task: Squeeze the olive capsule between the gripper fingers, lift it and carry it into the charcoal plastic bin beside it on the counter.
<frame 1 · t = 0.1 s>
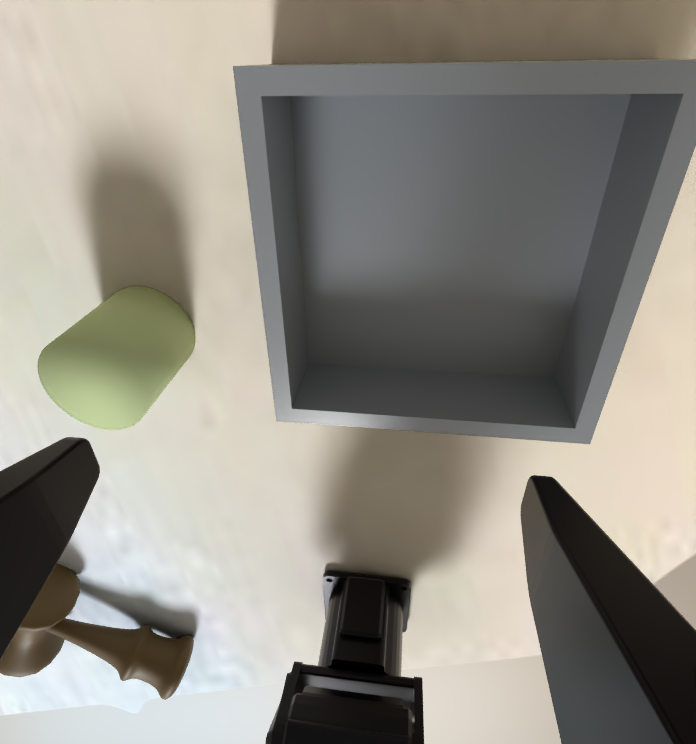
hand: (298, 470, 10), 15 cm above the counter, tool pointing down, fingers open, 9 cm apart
charcoal bin: (438, 247, 21), on the counter
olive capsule: (150, 328, 26), on the counter
kendama: (95, 599, 44), on the counter
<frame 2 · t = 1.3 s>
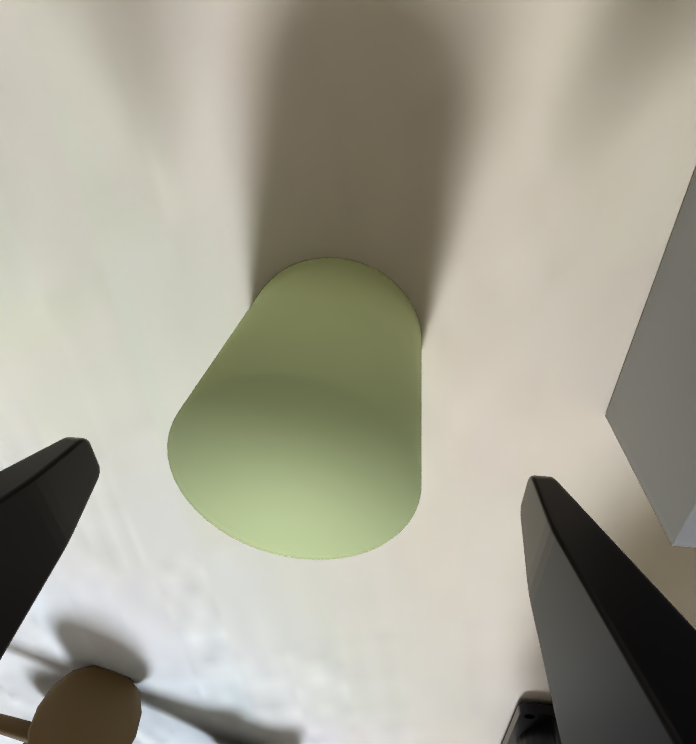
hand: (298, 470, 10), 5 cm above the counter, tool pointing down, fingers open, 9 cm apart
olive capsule: (334, 340, 14), on the counter
kendama: (156, 708, 32), on the counter
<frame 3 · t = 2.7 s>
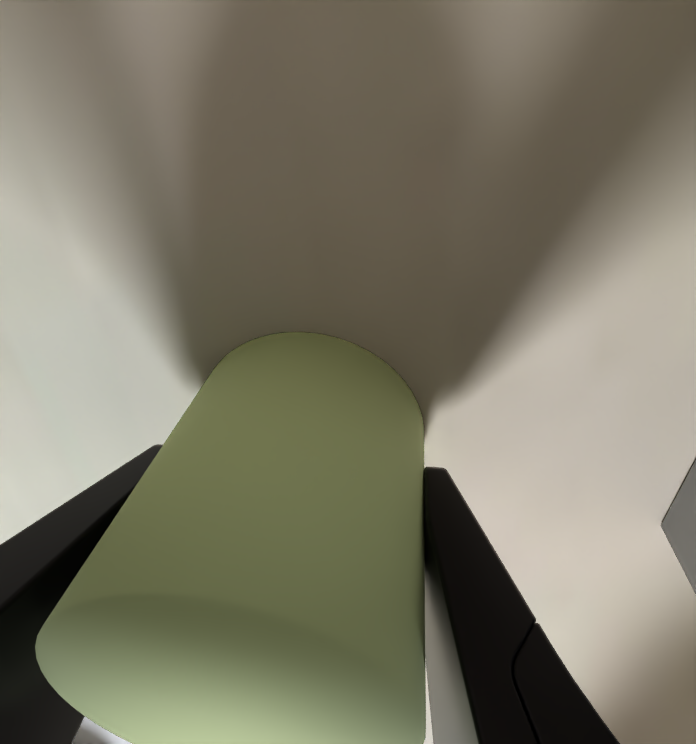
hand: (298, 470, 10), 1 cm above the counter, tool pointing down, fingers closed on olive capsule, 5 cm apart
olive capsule: (310, 430, 11), on the counter, touching gripper
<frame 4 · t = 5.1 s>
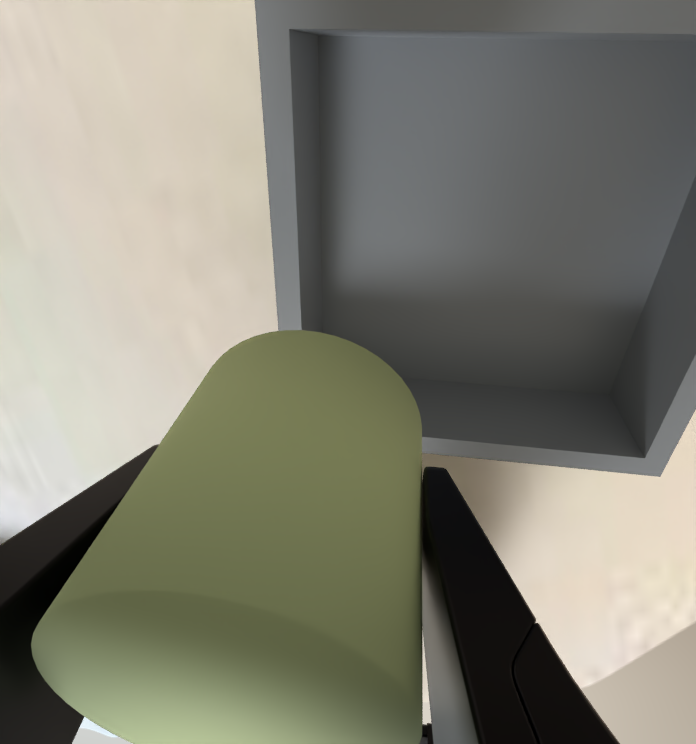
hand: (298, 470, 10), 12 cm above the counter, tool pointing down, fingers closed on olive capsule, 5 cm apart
charcoal bin: (485, 238, 18), on the counter
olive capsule: (308, 429, 11), point 10 cm above the counter, touching gripper
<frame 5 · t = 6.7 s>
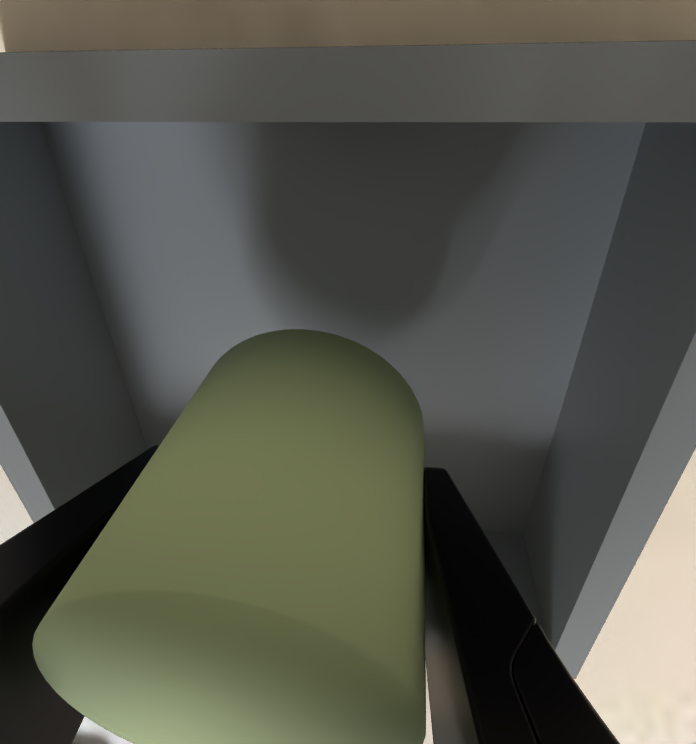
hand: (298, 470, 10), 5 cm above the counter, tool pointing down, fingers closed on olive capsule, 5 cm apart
charcoal bin: (333, 352, 13), on the counter
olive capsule: (310, 428, 11), point 3 cm above the counter, touching gripper
when the fingers open (3 cm above the counter, at t = 7.7 s): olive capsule drops 2 cm, resting on charcoal bin.
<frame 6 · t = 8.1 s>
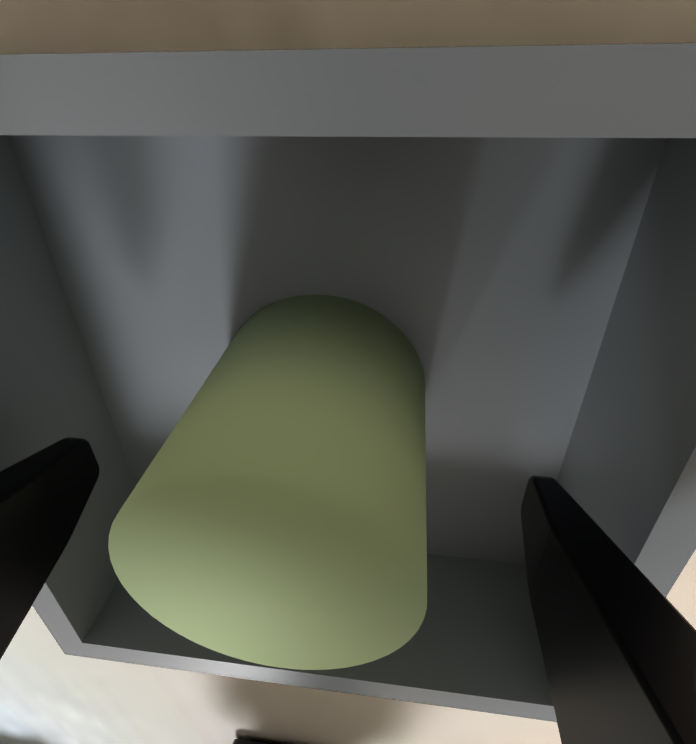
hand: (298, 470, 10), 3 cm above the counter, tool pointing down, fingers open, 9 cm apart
charcoal bin: (327, 374, 13), on the counter
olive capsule: (324, 386, 12), point 1 cm above the counter, touching charcoal bin
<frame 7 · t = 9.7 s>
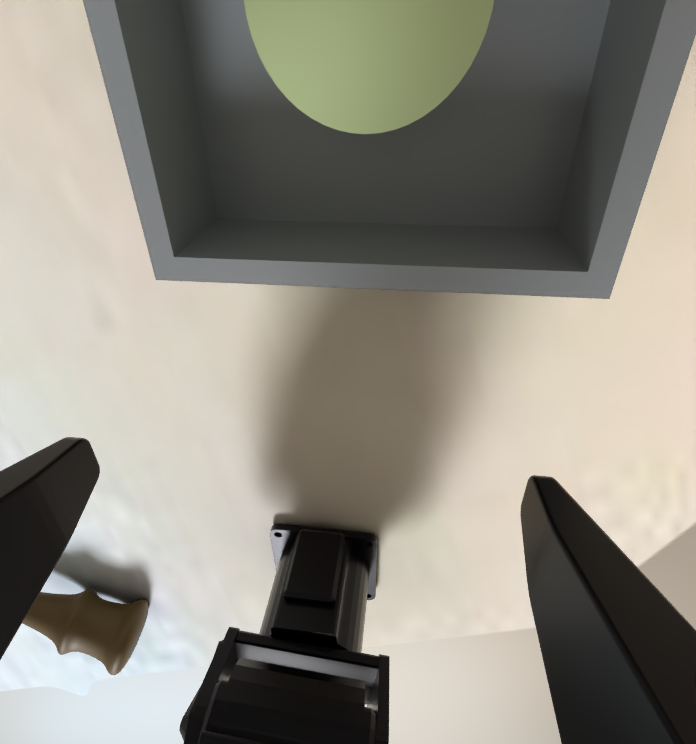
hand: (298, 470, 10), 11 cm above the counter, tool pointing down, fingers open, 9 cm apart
charcoal bin: (386, 12, 14), on the counter
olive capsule: (385, 9, 14), point 1 cm above the counter, touching charcoal bin
kendama: (30, 562, 37), on the counter
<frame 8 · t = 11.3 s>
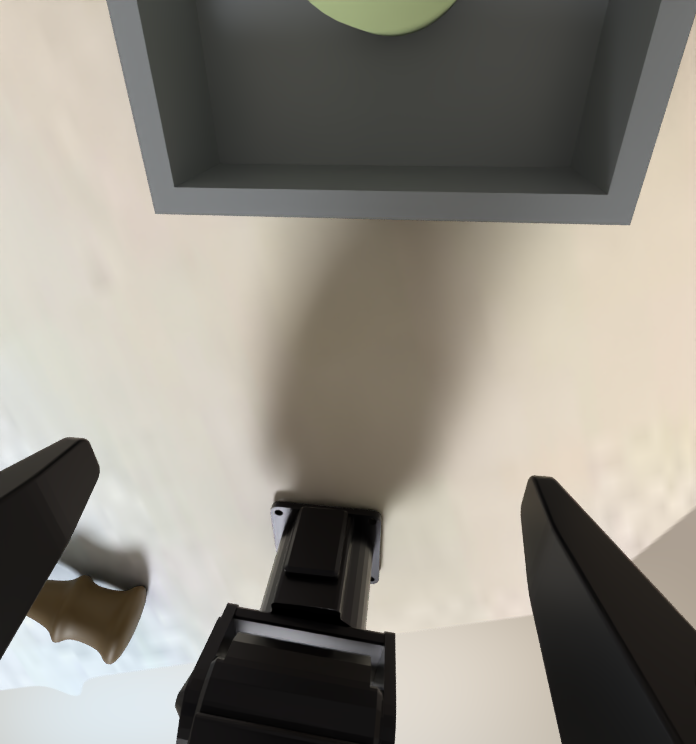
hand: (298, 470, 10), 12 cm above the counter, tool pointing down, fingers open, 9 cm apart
kendama: (24, 548, 36), on the counter
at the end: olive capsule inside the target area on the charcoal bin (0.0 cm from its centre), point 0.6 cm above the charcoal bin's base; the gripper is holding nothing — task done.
